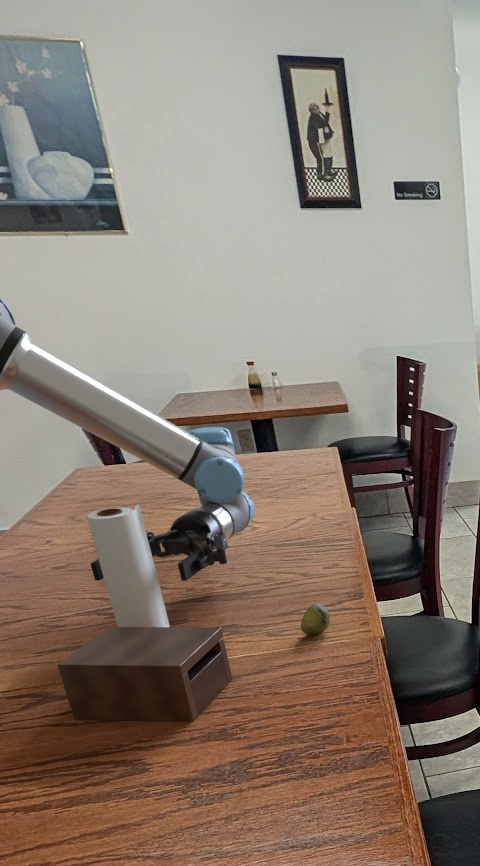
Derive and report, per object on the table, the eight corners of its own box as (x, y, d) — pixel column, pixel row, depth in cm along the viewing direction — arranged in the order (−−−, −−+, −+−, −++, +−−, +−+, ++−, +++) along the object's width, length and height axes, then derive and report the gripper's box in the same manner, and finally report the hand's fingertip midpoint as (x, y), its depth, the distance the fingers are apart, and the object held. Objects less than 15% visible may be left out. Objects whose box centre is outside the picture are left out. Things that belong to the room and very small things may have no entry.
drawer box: (74, 719, 107) (56, 664, 103) (124, 677, 117) (109, 626, 114) (193, 721, 106) (179, 665, 102) (232, 678, 116) (221, 627, 113)
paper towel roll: (126, 658, 123) (87, 519, 114) (122, 644, 128) (84, 510, 119) (177, 646, 127) (144, 511, 117) (171, 633, 131) (138, 502, 122)
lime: (302, 641, 128) (297, 611, 126) (304, 628, 132) (299, 600, 130) (331, 638, 129) (326, 608, 126) (332, 626, 133) (328, 597, 131)
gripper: (275, 551, 144) (223, 595, 125) (137, 551, 145) (66, 595, 126) (267, 509, 141) (213, 548, 122) (127, 509, 142) (51, 548, 123)
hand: (138, 572), depth 124 cm, fingers open, 13 cm apart
